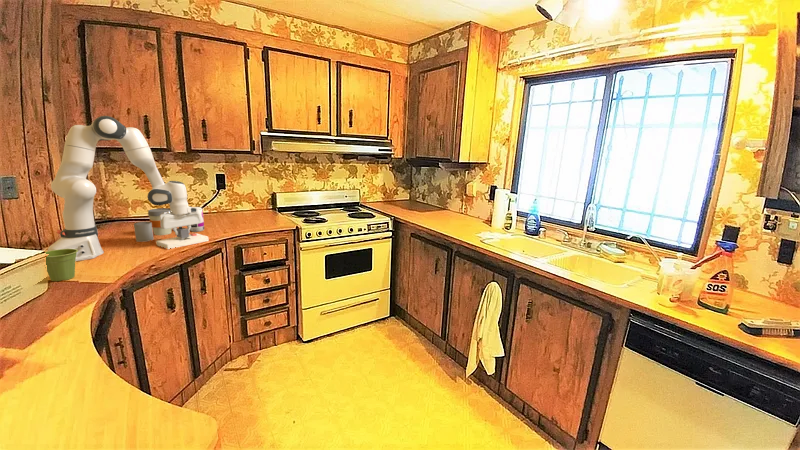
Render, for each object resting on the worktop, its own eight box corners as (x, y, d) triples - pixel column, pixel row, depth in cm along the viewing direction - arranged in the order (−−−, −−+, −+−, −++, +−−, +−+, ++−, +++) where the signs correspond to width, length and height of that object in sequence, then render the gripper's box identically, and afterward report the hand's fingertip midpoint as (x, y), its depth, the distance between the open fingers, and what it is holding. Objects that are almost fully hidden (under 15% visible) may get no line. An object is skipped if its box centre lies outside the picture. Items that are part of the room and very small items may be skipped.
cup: (144, 242, 202) (142, 225, 200) (132, 241, 204) (129, 224, 202) (157, 238, 210) (155, 222, 208) (145, 237, 212) (143, 221, 210)
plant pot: (75, 281, 144) (70, 255, 142) (37, 285, 140) (31, 258, 137) (87, 272, 155) (82, 247, 152) (51, 275, 150) (46, 249, 148)
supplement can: (203, 228, 237) (201, 206, 234) (205, 231, 230) (202, 208, 227) (189, 229, 232) (187, 207, 229) (190, 232, 226) (188, 209, 223)
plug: (181, 238, 199) (180, 228, 198) (176, 236, 202) (175, 227, 201) (189, 236, 202) (188, 227, 201) (184, 235, 205) (183, 226, 204)
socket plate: (167, 249, 190) (167, 243, 189) (156, 245, 197) (155, 239, 196) (208, 240, 208) (208, 235, 207) (197, 237, 215) (196, 232, 214)
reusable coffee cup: (173, 234, 219) (170, 211, 216) (149, 236, 214) (145, 212, 210) (175, 230, 230) (172, 207, 227) (152, 232, 224) (149, 208, 221)
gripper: (162, 213, 188) (165, 238, 192) (200, 208, 205) (203, 231, 208) (156, 212, 192) (159, 236, 195) (195, 206, 209) (197, 229, 212)
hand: (182, 233), depth 202 cm, fingers closed on plug, 4 cm apart
